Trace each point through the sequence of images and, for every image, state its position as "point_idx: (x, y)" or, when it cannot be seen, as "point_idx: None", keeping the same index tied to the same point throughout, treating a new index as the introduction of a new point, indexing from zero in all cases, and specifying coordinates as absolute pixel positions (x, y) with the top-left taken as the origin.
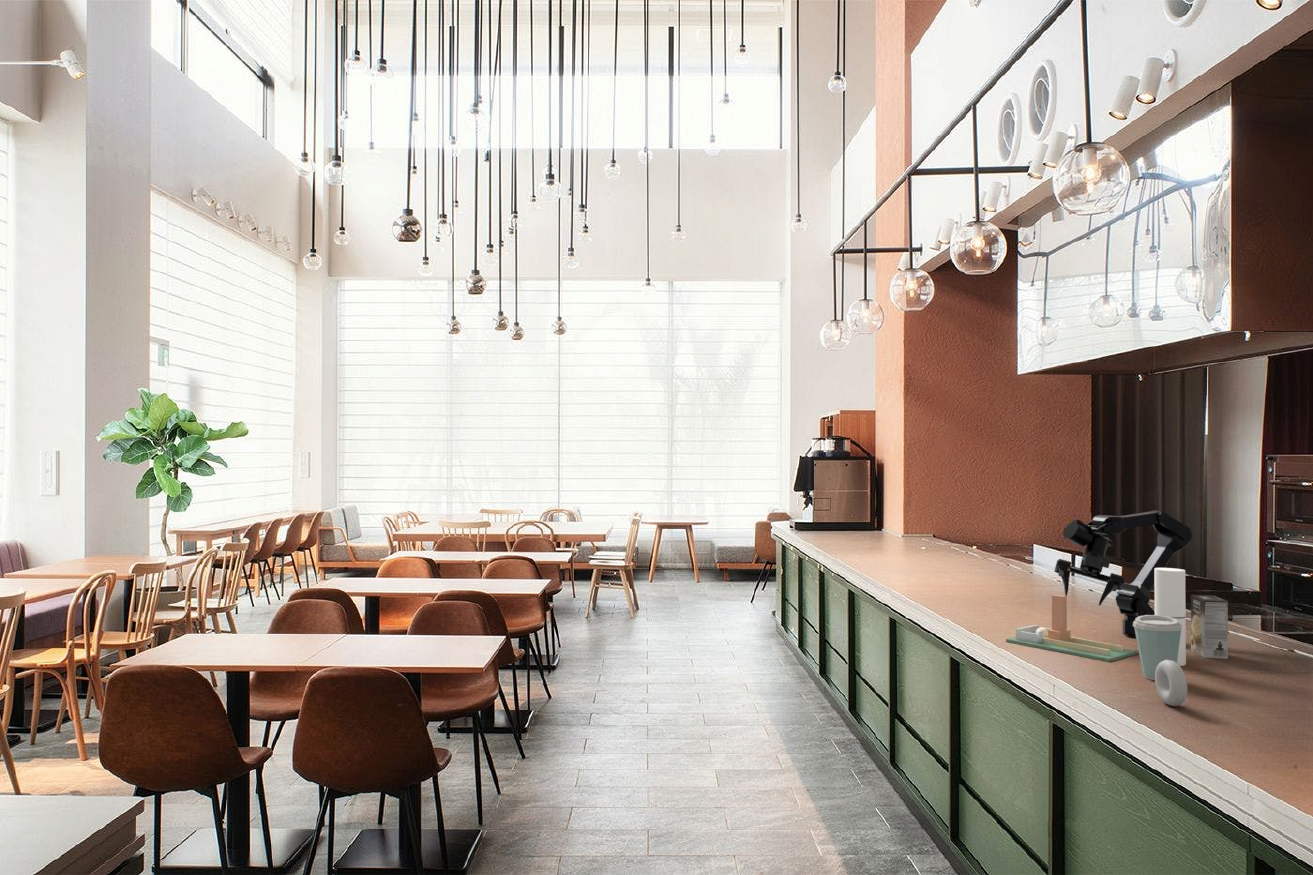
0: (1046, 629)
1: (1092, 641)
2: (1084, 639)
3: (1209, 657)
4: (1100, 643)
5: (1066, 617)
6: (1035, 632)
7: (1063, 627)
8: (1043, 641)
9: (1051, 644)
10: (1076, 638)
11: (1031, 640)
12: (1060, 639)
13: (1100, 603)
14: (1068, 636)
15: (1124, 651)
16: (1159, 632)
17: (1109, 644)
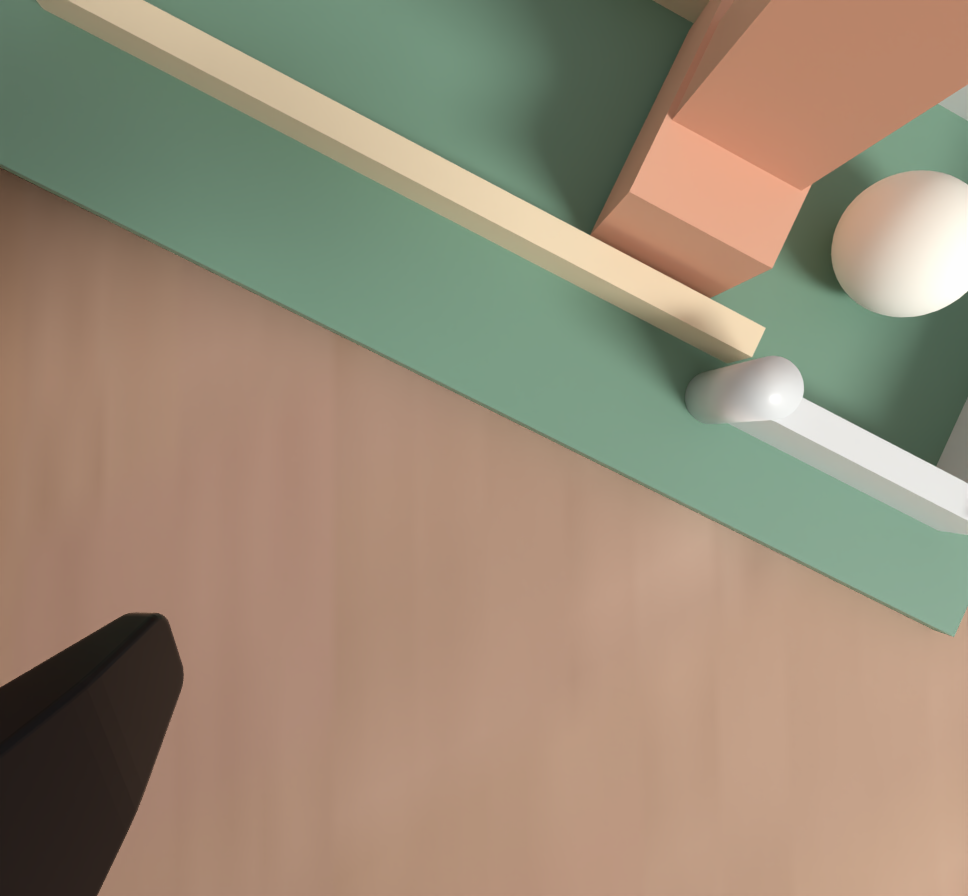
0: (882, 440)
1: (359, 116)
2: (448, 178)
3: None
4: (271, 73)
5: (755, 11)
6: (963, 463)
7: (730, 15)
8: None
9: None
10: (536, 208)
11: None
12: (704, 11)
13: (119, 628)
14: (628, 172)
15: (26, 13)
16: None
17: (168, 17)
